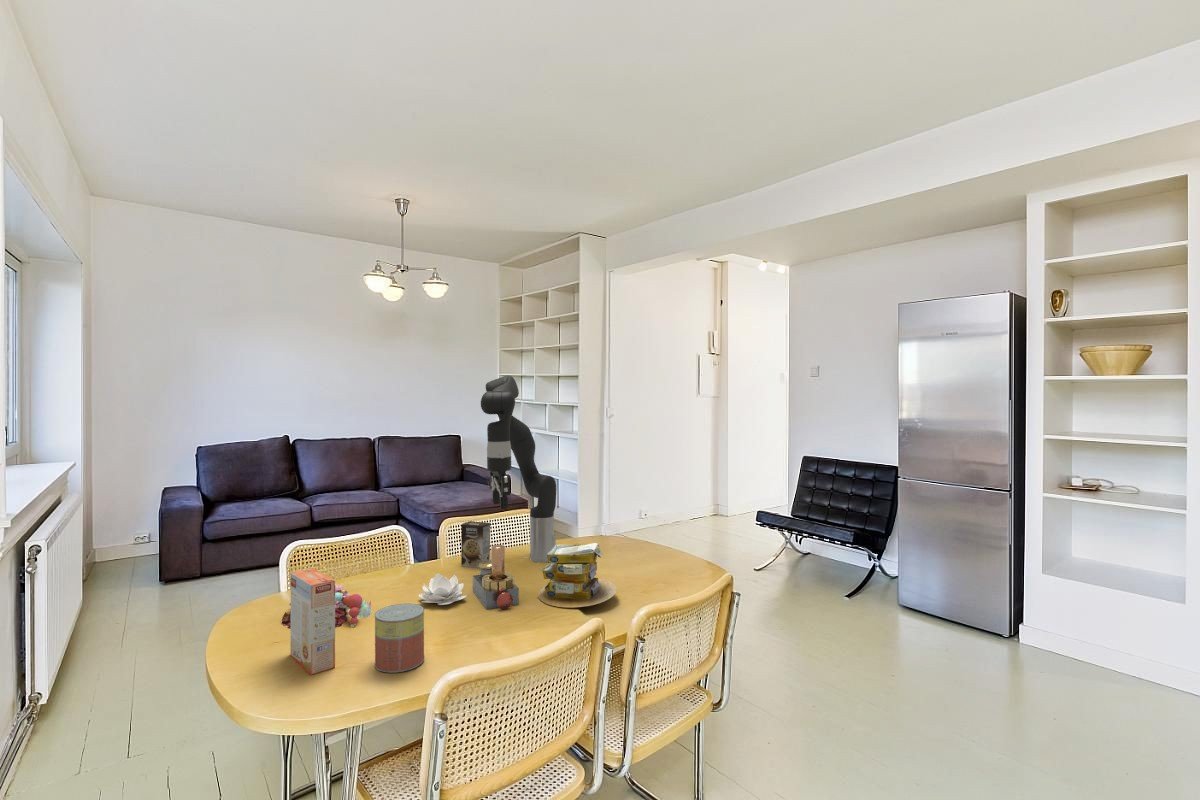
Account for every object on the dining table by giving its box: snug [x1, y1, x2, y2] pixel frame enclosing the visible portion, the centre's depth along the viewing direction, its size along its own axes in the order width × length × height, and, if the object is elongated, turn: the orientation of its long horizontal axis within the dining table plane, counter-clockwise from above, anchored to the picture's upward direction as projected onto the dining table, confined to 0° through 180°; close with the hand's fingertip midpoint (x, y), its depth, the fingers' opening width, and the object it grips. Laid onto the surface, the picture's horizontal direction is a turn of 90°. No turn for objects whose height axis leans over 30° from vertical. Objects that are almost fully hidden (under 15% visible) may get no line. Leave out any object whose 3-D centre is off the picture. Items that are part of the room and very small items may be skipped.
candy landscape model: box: [281, 583, 373, 630], centre depth 168 cm, size 25×24×9 cm
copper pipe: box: [491, 544, 506, 580], centre depth 181 cm, size 4×4×12 cm
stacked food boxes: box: [537, 542, 617, 608], centre depth 187 cm, size 25×25×17 cm
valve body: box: [472, 559, 520, 610], centre depth 183 cm, size 21×10×9 cm, turn 25°
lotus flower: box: [418, 572, 468, 606], centre depth 181 cm, size 14×15×9 cm
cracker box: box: [290, 568, 336, 676], centre depth 140 cm, size 14×6×21 cm, turn 45°
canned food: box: [374, 602, 425, 674], centre depth 140 cm, size 11×11×12 cm
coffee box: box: [460, 520, 491, 570], centre depth 218 cm, size 9×6×16 cm
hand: (500, 506), depth 185 cm, fingers open, 8 cm apart
